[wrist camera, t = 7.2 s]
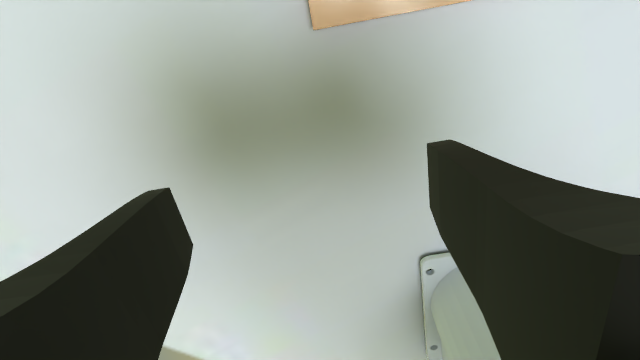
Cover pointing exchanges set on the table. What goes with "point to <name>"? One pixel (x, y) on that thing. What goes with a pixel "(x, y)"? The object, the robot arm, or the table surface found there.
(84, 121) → the table surface
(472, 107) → the table surface
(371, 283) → the table surface
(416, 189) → the table surface
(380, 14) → the coaster
